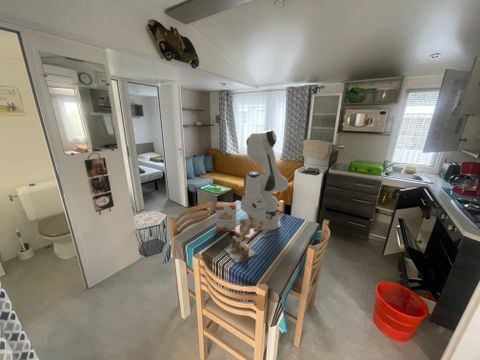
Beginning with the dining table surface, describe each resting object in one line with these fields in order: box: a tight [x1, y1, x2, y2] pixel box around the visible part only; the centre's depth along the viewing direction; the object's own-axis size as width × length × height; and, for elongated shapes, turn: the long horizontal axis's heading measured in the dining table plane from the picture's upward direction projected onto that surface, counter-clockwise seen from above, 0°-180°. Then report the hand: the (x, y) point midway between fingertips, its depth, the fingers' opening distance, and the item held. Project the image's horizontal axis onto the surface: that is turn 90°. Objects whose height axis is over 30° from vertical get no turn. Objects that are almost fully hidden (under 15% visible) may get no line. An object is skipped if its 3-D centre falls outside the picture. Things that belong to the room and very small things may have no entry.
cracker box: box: [215, 201, 237, 232], centre depth 146 cm, size 14×6×21 cm, turn 85°
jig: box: [223, 235, 258, 264], centre depth 123 cm, size 16×15×7 cm
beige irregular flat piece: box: [239, 216, 264, 238], centre depth 118 cm, size 16×2×10 cm, turn 123°
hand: (251, 221), depth 117 cm, fingers closed on beige irregular flat piece, 2 cm apart
